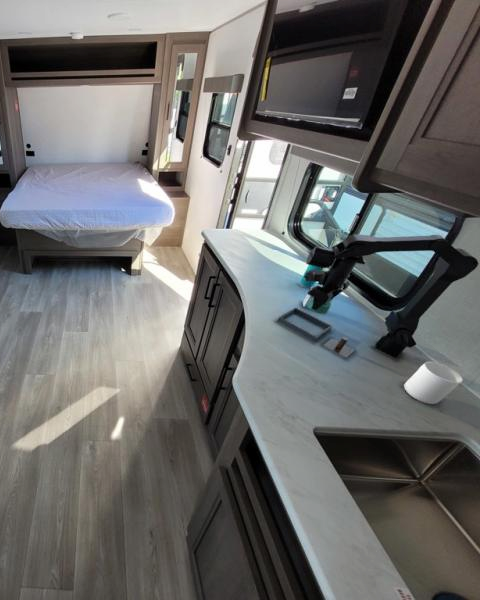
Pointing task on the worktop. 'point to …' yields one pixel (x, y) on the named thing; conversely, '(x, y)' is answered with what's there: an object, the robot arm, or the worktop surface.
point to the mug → (432, 382)
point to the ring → (322, 309)
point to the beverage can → (309, 283)
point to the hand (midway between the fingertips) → (317, 306)
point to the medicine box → (309, 300)
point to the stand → (339, 346)
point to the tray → (301, 331)
